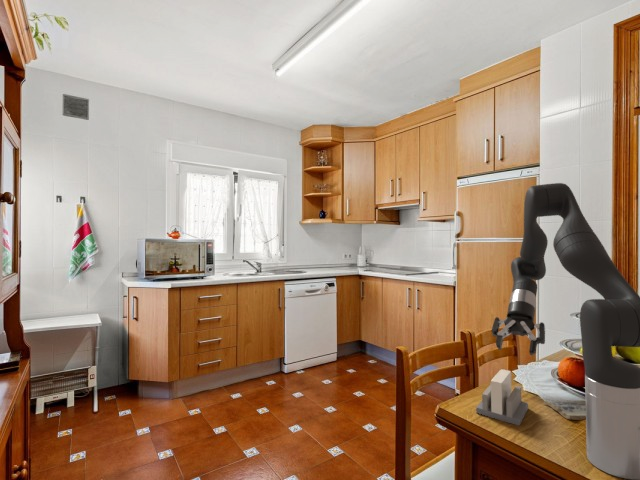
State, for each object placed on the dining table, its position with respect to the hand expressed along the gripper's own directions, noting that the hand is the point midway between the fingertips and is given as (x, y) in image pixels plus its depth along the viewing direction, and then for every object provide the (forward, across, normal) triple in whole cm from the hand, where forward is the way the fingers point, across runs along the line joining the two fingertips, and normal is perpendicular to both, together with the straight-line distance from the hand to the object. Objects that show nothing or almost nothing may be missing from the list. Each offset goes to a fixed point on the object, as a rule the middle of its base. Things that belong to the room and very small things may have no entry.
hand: (514, 351), depth 105 cm
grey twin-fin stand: (+20, 0, -3) cm, 20 cm away
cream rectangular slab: (+19, 0, -4) cm, 19 cm away
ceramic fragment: (+12, +14, +5) cm, 20 cm away
